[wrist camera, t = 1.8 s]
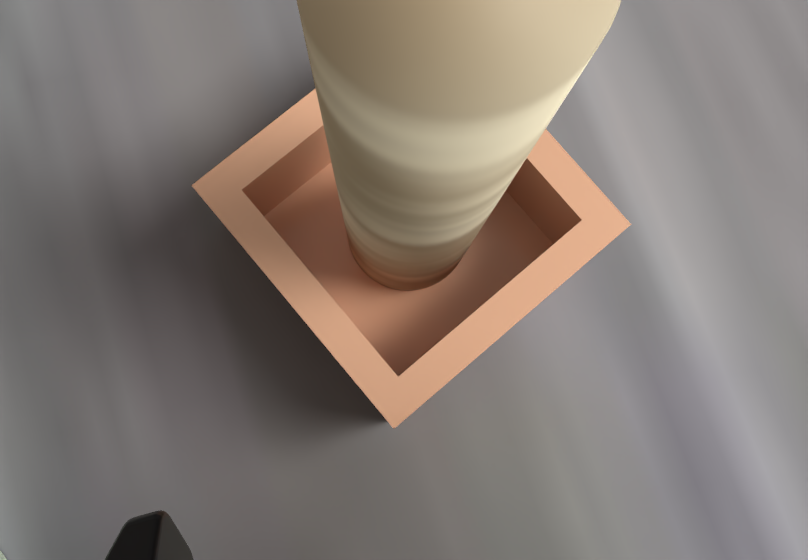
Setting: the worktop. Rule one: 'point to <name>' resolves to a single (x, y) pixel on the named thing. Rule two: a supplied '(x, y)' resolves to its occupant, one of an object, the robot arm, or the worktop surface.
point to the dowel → (437, 114)
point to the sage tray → (2, 556)
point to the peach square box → (396, 309)
